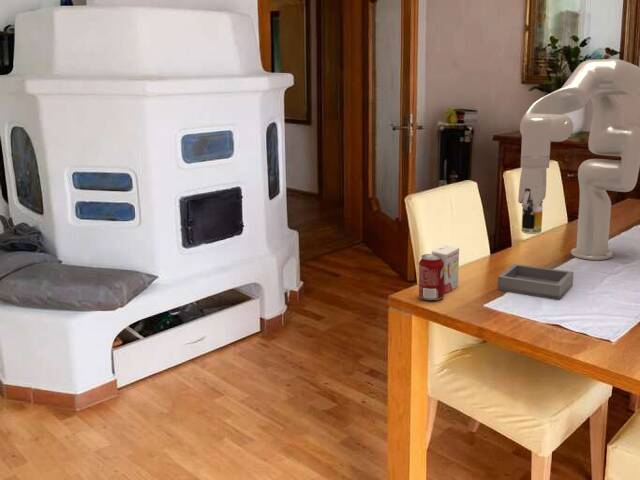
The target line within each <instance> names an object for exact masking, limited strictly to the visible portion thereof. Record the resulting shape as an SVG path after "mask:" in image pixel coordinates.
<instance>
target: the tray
mask: <svg viewBox="0 0 640 480" xmlns="http://www.w3.org/2000/svg"><path fill="white" fill-rule="evenodd" d="M573 282H574V271H570V270H569V271H567V270H562V269H554V268H548V267H540V266H532V265H525V264H517V263H514V264H512V265H511V266H510V267H509V268H507V269H506V270H505V271H503V272H502V273H501V274H499V275H498V277H497V290H498V291H501V292H507V293H513V294H521V295H525V296H526V295H527V296H532V297H537V298H544V299H551V300H558V301H560V300H561V299H562V298H563V297H564V295H565V294H566V293H568V291H569V290H570V289H571V287H573V285H574V283H573Z"/></svg>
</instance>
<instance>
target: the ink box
mask: <svg viewBox="0 0 640 480" xmlns="http://www.w3.org/2000/svg"><path fill="white" fill-rule="evenodd" d="M430 254H438V255H441V256H442V260H443V262H444V294H445V295H447V294H448V293H450V292H451V291H452V290H454V289H456V288H457V287H459V271H460V270H459V268H460V267H459V266H460V264H459V261H460V248H459V247H456V246H451V245H446V244H445V245H442V246H440V247H437V248H436V249H435V248H434V249H433V250H431V253H430Z"/></svg>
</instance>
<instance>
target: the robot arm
mask: <svg viewBox="0 0 640 480" xmlns="http://www.w3.org/2000/svg"><path fill="white" fill-rule="evenodd" d="M638 92H640V67H639V66H638V65H635V64H633V63H631V62H628V61H626V60H622V59H619V58H618V59H617V58H607V59H605V58H603V59H602V58H601V59H588V60H587V59H586V60H585V61H582V62H581V63H579V64H578V66H577V67H576V68H575V69H574V70H573V72H572V73H571V75H570V76H569V77H568V78H567V80H566V82H564V84H563V85H562V86H561V88H558V89H556V90H554V91H552V92H551V93H547V94H546V95H544V96H543V97H541V98H538V99H537V100H536V101H535V102H533V103H532V104H531V105H530V106H529V108H528V110H526V112H525V113H524V115H522V118H521V121H520V125H519V132H520V134H521V152H520V153H521V154H520V168H521V171H520V179H519V185H518V186H519V188H518V198H517V199H518V200H517V201H518V203H519V204H521V206H522V209H523V221H522V220H521V228H522V227H523V228H528V229H534V222H535V215H533V214H534V208H535V204H537V203H539V202H540V204H539V206H541V207H542V208H543V202H544V201H543V200H545V198H546V196H547V169H549V168H550V158H551V157H550V155H551V143H552V142H557V143H559V142H564V141H567V140H568V139H569V138H570V137H571V135H572V134H573V131H574V122H573V120H572V118H571V117H569V116H568V115H567V114H569V113H573V112H576V111H578V110H582V109H583V108H585V106H586V105H587V104H588V102H590V101H591V104H592V118H591V124H590V130H589V136H588V145H587V146H588V150H589V151H590V152H591V153H592V154H595V155H599V156H600V155H601V156H609V157H610V156H611V157H613V156H614V157H620V158H621V159H620V160H616V159H615V160H614V159H606V158H605V159H602V158H590V159H589V158H588V159H587V160H584V161H582V163H581V164H580V165H579V166H578V170H577V171H578V172H577V179H578V185H579V203H578V204H579V206H578V217H577V219H578V220H577V235H576V247H574V248H572V249H571V250H570V254H571V255H572V256H573V257H576V258H578V259H582V260H583V259H584V260H590V261H591V260H594V261H601V260H608V259H611V258H612V257H613V252H612V250H610V249H609V235H610V225H611V224H610V223H611V213H612V211H611V210H612V201H611V197H610V196H609V195H608V192H607V191H611V192H612V191H613V192H618V193H619V192H620V193H621V192H622V193H627V192H631V191H633V190H634V188H635V187H636V185H637V182H638V177H639V172H640V127H637V126H636V125H635V126H634V125H624V124H623V125H622V124H621V123H622V117H623V107H622V104H621V102H620V101H619V99H618V98H617V97H616V96H617V95H618V96H633V95H635V94H638ZM529 201H532V203H528V202H529ZM530 206H532V207H531V208H530Z"/></svg>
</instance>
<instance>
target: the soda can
mask: <svg viewBox="0 0 640 480" xmlns="http://www.w3.org/2000/svg"><path fill="white" fill-rule="evenodd" d="M418 297H419V298H421V299H422V300H424V299H425V300H424V301H426V300H437V301H440V300H441V299H443V298H444V297H445V295H444V262H443V260H442V256H441V255H438V254H432V253H425V254H422V255H421V259H420V260H419V261H418ZM439 299H440V300H439Z"/></svg>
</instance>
